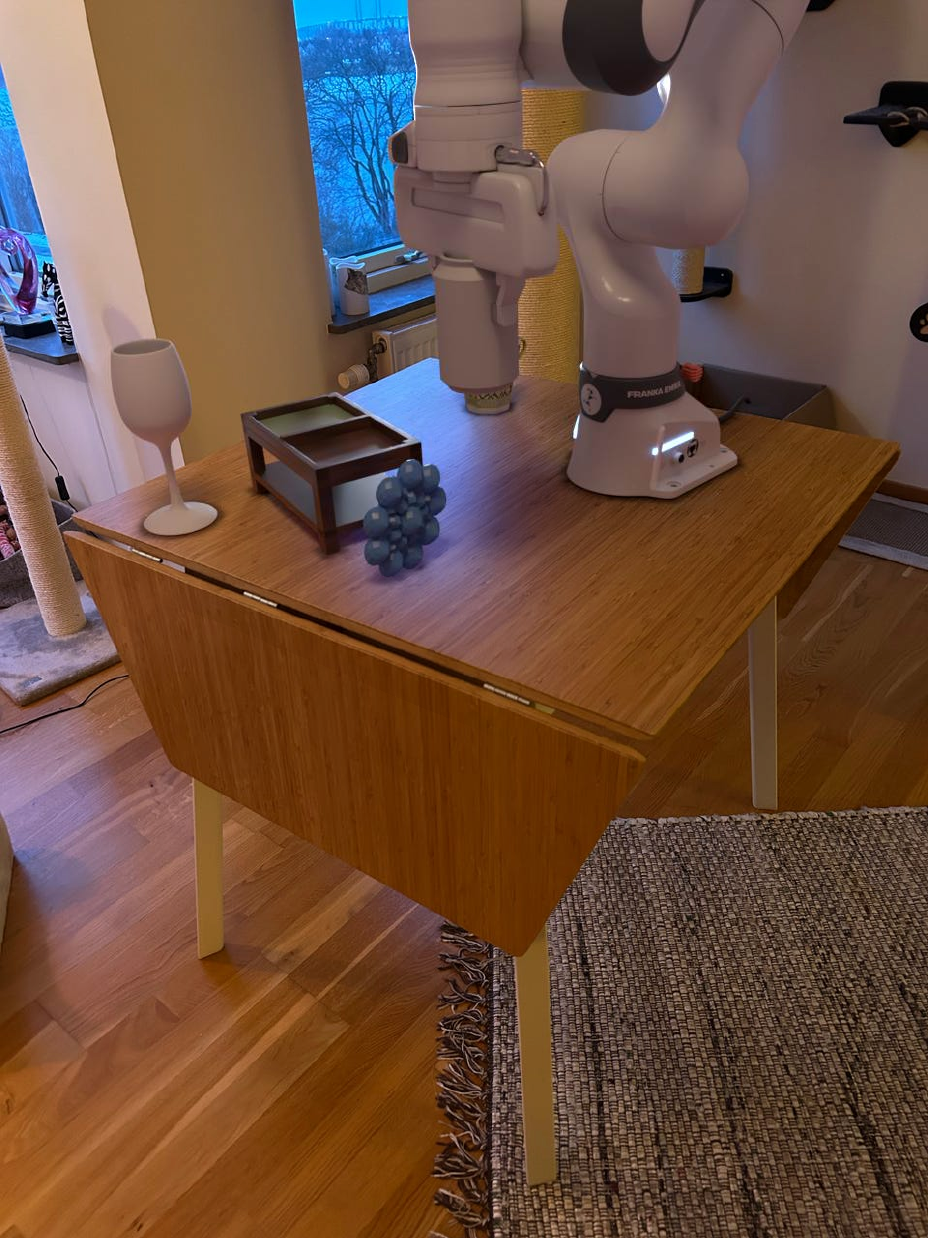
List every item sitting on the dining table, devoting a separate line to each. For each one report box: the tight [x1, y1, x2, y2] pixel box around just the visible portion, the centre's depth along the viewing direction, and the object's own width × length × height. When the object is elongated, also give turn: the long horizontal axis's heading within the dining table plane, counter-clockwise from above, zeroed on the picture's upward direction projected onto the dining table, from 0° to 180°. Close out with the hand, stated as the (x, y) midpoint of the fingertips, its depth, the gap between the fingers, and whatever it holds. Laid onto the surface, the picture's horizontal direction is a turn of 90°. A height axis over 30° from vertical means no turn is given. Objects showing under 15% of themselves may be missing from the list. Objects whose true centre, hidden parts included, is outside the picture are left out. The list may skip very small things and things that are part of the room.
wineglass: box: [110, 337, 218, 536], centre depth 105 cm, size 9×9×21 cm
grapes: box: [363, 459, 447, 579], centre depth 96 cm, size 12×7×12 cm, turn 138°
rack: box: [239, 391, 424, 556], centre depth 110 cm, size 13×22×10 cm, turn 33°
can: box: [433, 252, 520, 395], centre depth 83 cm, size 8×8×12 cm
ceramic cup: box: [463, 336, 527, 416], centre depth 139 cm, size 13×10×10 cm
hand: (475, 314), depth 83 cm, fingers closed on can, 7 cm apart
